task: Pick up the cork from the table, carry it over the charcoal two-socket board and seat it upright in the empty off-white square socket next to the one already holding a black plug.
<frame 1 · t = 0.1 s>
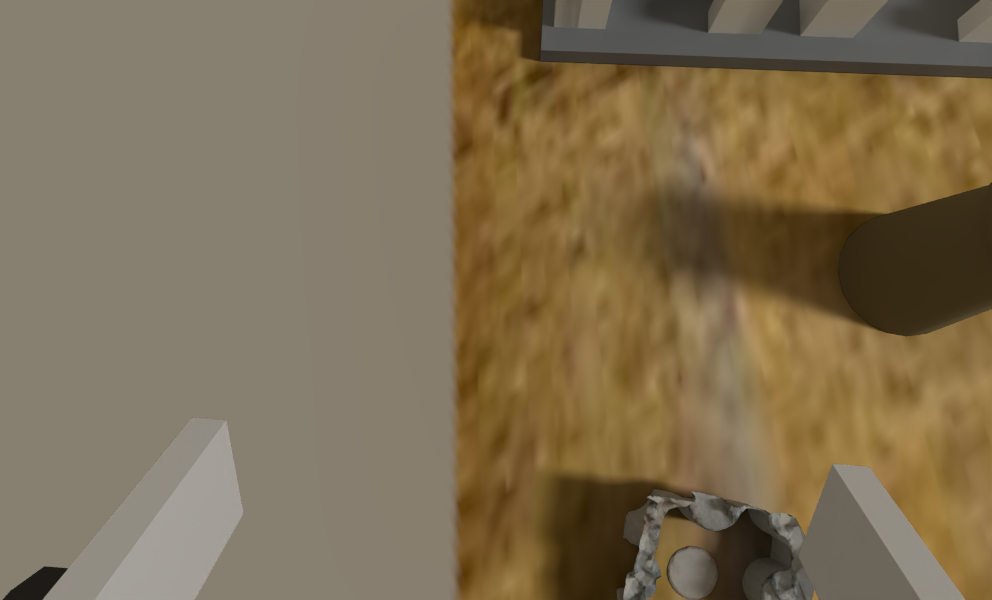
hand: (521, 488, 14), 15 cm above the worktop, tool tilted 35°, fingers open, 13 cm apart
cork: (899, 275, 30), on the worktop
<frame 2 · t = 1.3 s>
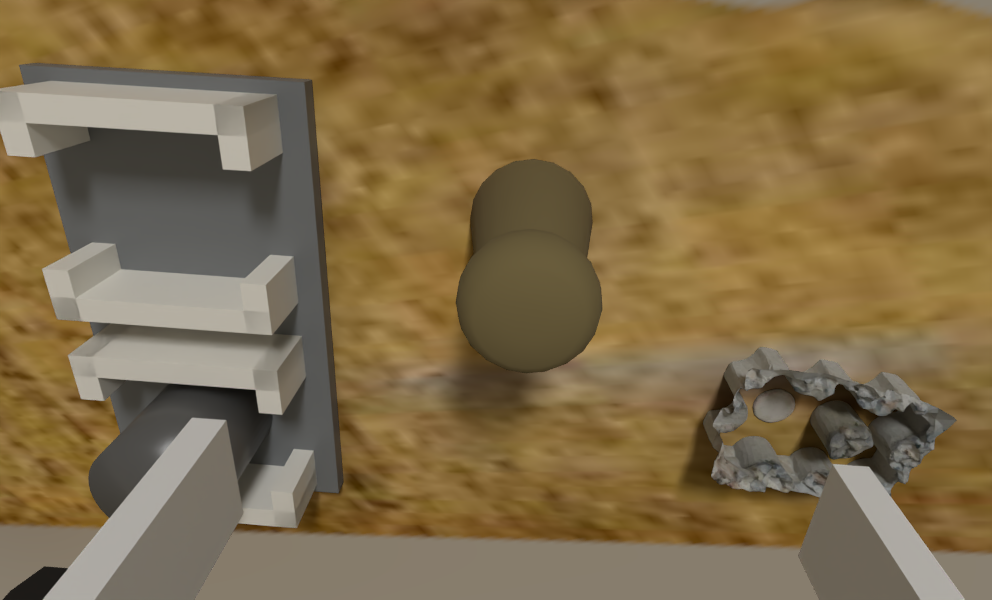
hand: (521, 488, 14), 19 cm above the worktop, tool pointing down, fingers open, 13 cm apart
cork: (531, 218, 30), on the worktop
socket board: (212, 304, 33), on the worktop
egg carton: (800, 404, 34), on the worktop
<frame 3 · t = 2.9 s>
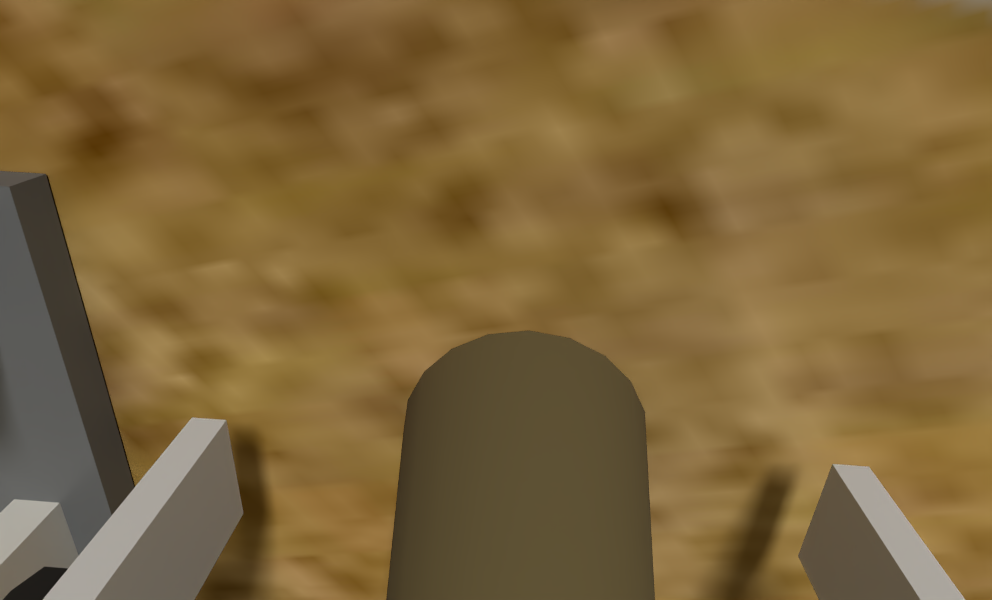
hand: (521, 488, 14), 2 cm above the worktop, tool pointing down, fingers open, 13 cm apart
cork: (524, 431, 15), on the worktop
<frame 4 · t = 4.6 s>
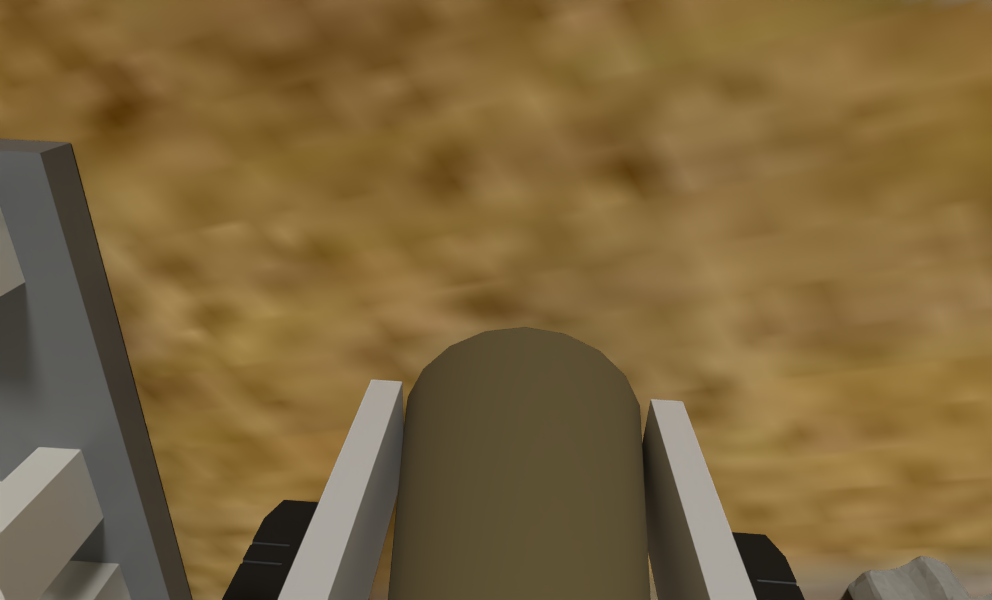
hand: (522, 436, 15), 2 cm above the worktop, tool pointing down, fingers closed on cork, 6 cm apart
cork: (521, 426, 16), point 1 cm above the worktop, touching gripper
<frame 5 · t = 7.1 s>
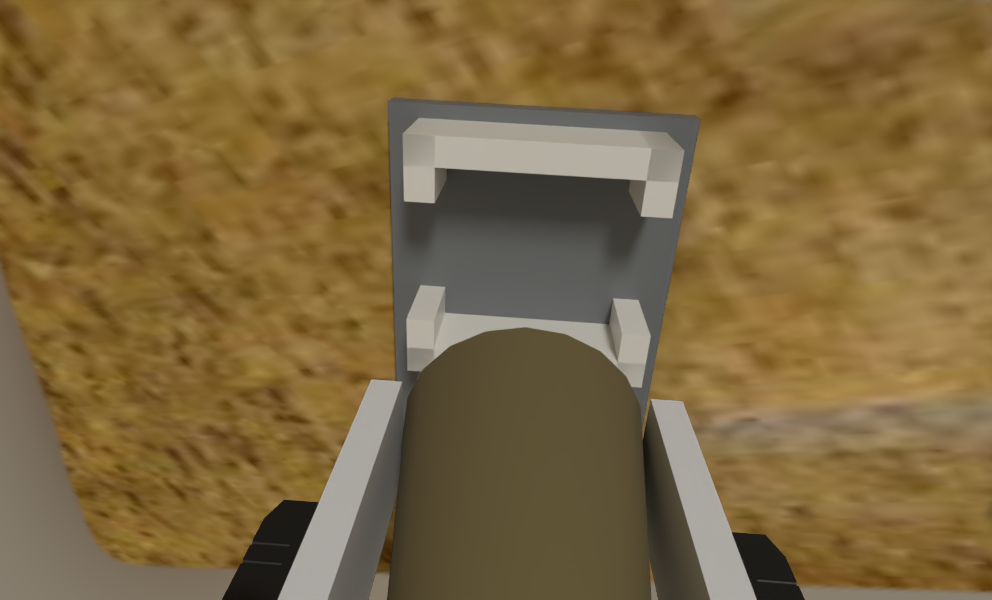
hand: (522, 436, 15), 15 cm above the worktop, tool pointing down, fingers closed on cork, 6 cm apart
cork: (522, 427, 16), point 15 cm above the worktop, touching gripper
socket board: (524, 347, 31), on the worktop
when the fingers open (3 cm above the worktop, at t = 9.4 s): cork drops 2 cm, resting on socket board.
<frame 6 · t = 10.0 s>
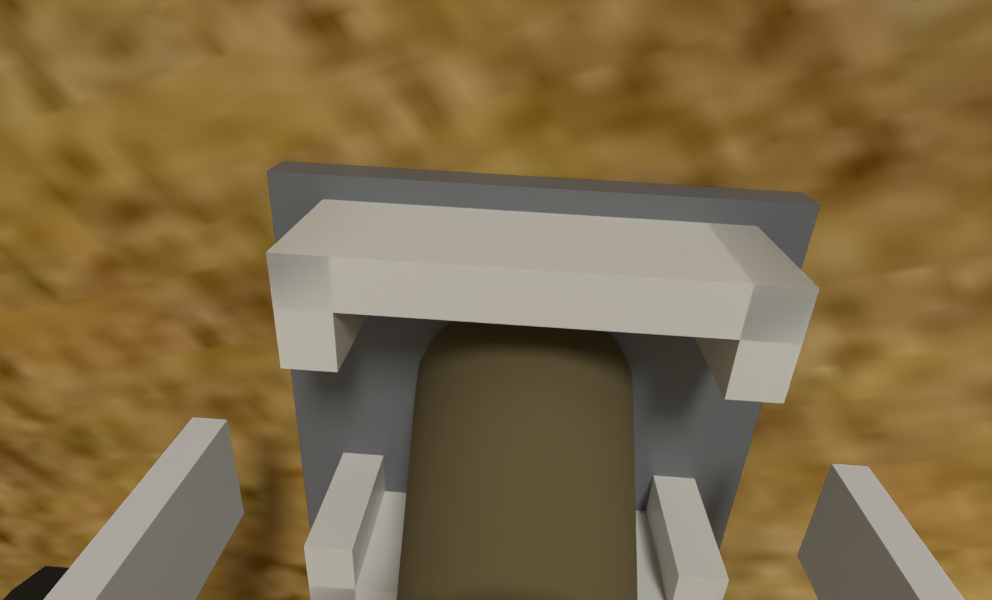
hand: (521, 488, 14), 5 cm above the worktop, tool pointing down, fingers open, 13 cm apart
cork: (523, 391, 17), point 1 cm above the worktop, touching socket board
socket board: (511, 528, 20), on the worktop
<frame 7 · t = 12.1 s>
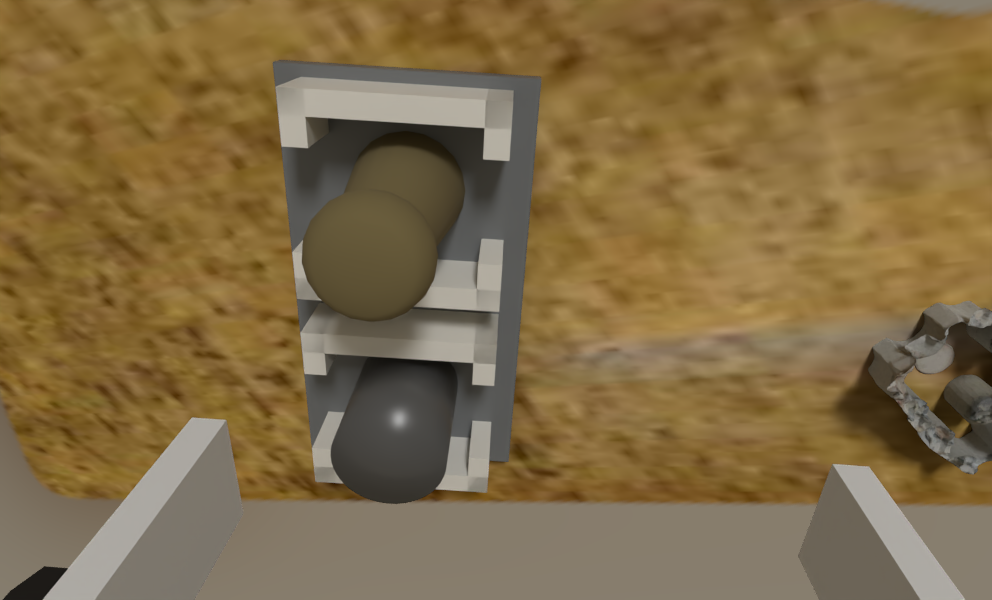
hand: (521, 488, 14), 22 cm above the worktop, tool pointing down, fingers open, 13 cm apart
cork: (408, 188, 32), point 1 cm above the worktop, touching socket board
socket board: (411, 285, 36), on the worktop
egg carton: (947, 368, 38), on the worktop
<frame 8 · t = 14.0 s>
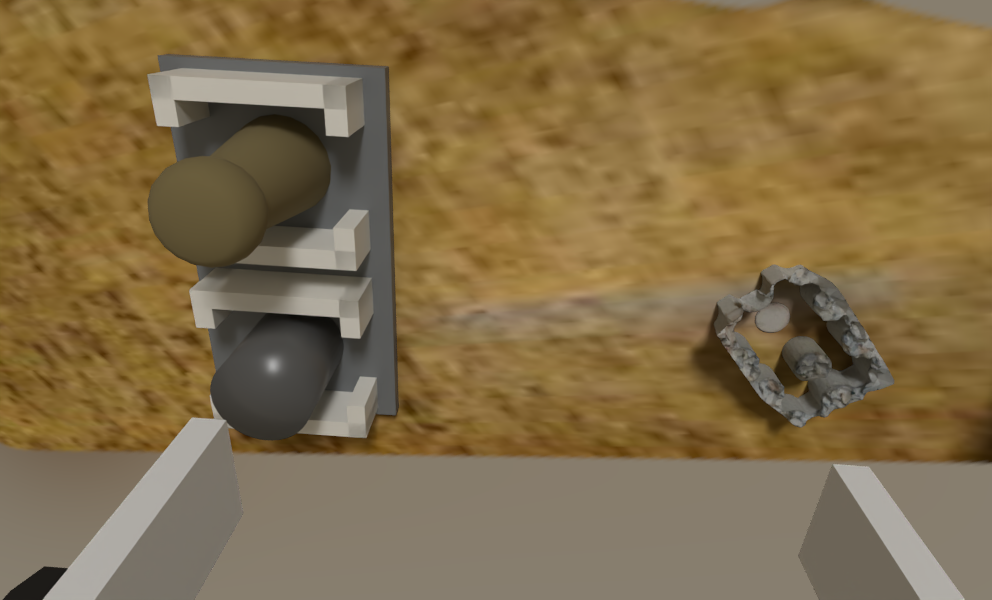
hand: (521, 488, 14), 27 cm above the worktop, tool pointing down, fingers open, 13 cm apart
cork: (283, 164, 37), point 1 cm above the worktop, touching socket board
socket board: (297, 252, 41), on the worktop
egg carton: (786, 329, 42), on the worktop
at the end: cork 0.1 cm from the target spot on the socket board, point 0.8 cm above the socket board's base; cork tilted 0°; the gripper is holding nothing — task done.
